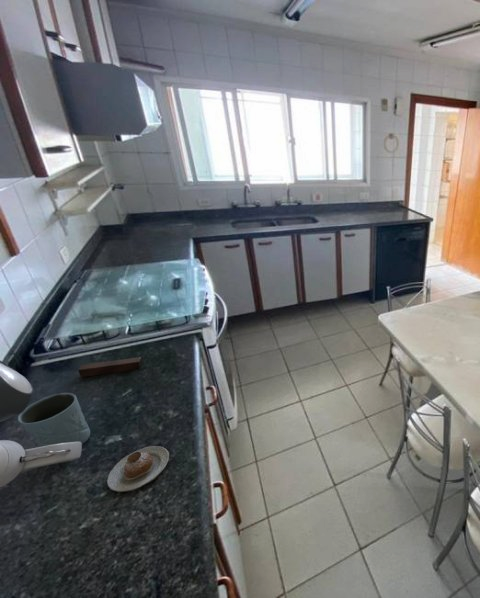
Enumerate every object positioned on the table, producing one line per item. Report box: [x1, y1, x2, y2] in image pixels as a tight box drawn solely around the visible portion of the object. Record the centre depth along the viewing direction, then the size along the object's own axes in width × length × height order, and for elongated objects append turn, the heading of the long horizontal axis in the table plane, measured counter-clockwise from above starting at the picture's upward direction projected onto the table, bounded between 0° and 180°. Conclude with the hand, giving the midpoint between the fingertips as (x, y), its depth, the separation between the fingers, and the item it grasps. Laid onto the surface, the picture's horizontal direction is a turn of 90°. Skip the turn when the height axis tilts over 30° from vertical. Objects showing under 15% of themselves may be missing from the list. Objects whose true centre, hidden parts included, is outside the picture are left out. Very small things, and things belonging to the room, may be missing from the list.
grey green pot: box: [17, 392, 91, 447], centre depth 82 cm, size 10×10×12 cm
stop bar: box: [77, 356, 143, 378], centre depth 110 cm, size 16×3×3 cm, turn 112°
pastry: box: [106, 445, 170, 493], centre depth 78 cm, size 12×12×5 cm
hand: (37, 459), depth 73 cm, fingers closed
